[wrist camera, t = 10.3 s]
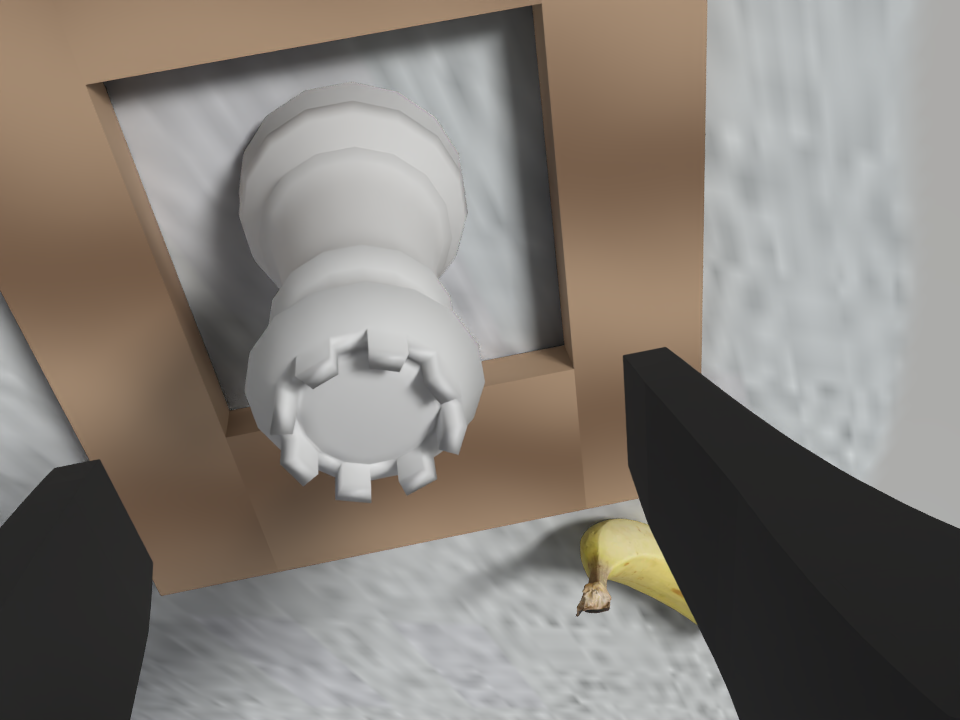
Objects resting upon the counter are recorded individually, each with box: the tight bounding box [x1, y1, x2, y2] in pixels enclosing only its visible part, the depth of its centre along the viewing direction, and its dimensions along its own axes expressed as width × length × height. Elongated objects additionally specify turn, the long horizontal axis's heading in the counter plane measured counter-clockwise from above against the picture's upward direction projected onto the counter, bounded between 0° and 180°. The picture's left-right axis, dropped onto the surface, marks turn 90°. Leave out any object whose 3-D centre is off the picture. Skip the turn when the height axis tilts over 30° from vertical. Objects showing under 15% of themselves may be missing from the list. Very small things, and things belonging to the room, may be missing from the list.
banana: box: [576, 519, 697, 625], centre depth 24 cm, size 8×2×4 cm, turn 51°
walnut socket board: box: [0, 0, 707, 596], centre depth 18 cm, size 17×14×1 cm
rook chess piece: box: [238, 82, 485, 503], centre depth 14 cm, size 4×4×8 cm
